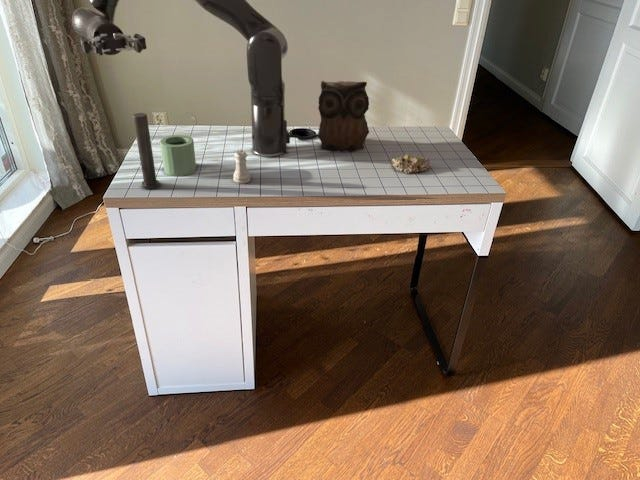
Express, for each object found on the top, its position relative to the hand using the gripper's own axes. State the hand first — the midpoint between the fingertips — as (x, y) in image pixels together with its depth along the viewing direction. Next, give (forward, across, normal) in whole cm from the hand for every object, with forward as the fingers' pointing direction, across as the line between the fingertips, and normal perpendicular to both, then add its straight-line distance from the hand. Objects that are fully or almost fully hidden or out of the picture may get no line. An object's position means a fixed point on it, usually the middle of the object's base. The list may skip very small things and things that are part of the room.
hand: (120, 49), depth 113 cm
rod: (+11, 0, +30) cm, 32 cm away
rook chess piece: (+18, +21, +30) cm, 41 cm away
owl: (+8, +58, +30) cm, 66 cm away
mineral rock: (+31, +67, +30) cm, 79 cm away
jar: (+5, +9, +30) cm, 32 cm away
